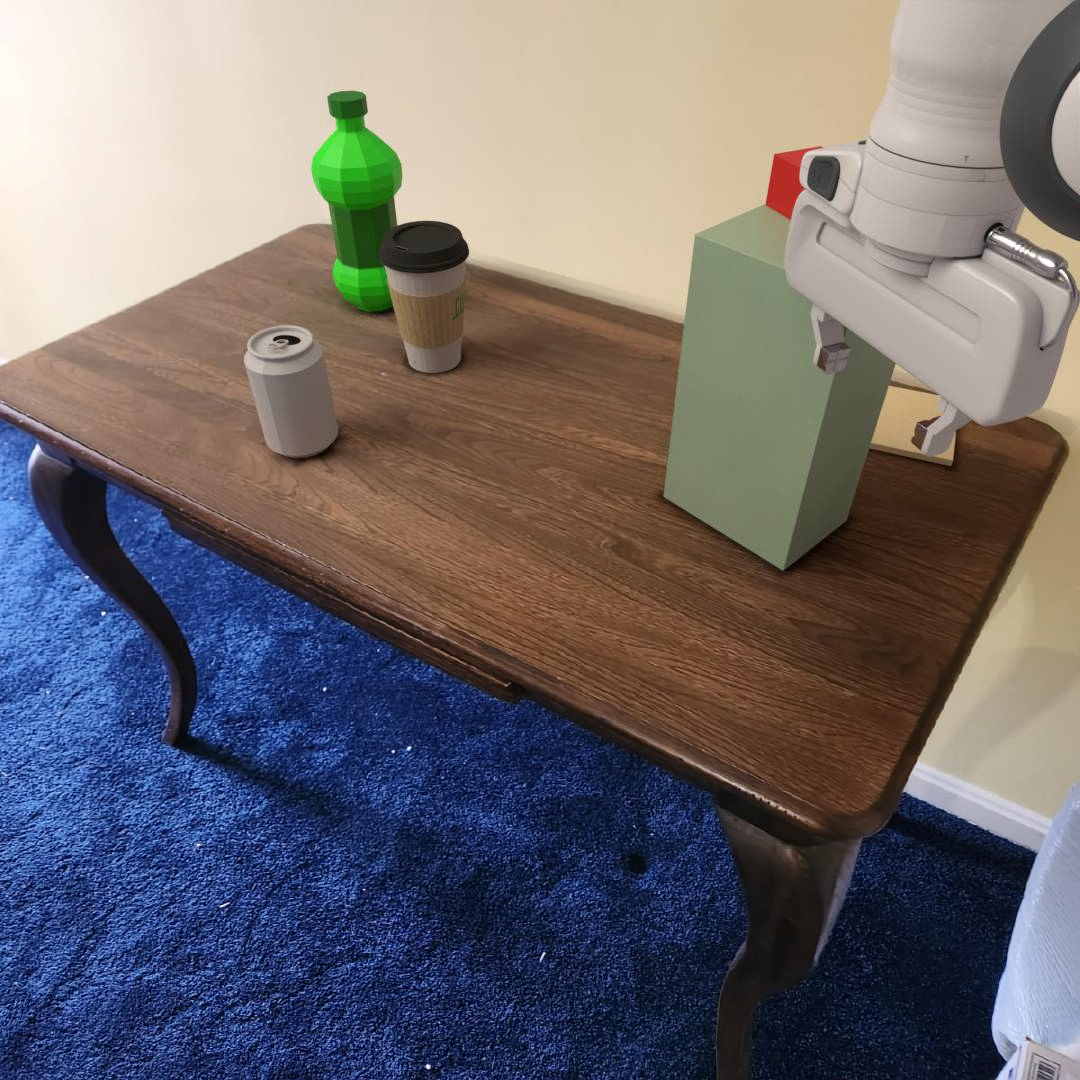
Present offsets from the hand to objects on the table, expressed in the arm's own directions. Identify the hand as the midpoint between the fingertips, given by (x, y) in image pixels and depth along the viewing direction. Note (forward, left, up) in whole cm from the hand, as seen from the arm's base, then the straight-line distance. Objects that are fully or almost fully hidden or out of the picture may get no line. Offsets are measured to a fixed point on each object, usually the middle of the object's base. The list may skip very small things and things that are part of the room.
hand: (875, 406), depth 57 cm
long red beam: (+3, -13, +5) cm, 14 cm away
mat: (0, -33, -21) cm, 39 cm away
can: (+53, -6, -21) cm, 58 cm away
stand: (+7, -13, -21) cm, 26 cm away
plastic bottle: (+62, -36, -21) cm, 75 cm away
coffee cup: (+48, -26, -21) cm, 59 cm away
